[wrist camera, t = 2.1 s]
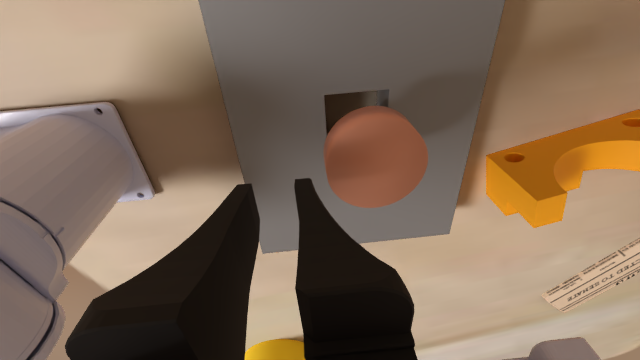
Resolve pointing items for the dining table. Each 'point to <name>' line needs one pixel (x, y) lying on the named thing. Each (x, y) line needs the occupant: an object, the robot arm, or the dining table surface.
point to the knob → (374, 157)
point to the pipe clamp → (559, 166)
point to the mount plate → (347, 77)
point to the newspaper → (596, 278)
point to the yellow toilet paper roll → (276, 350)
